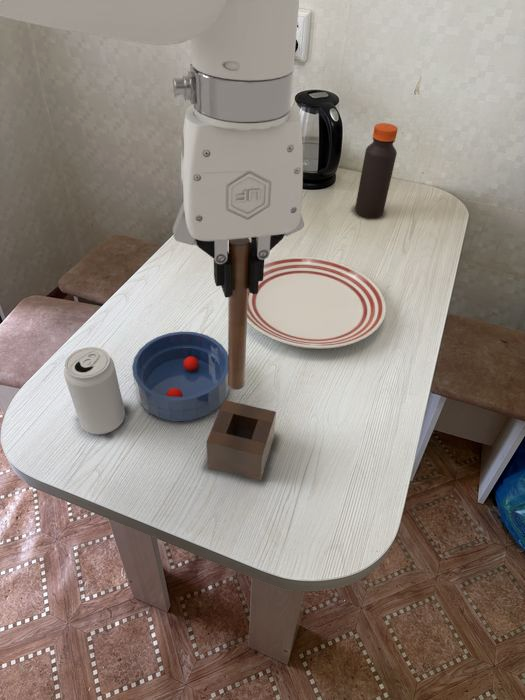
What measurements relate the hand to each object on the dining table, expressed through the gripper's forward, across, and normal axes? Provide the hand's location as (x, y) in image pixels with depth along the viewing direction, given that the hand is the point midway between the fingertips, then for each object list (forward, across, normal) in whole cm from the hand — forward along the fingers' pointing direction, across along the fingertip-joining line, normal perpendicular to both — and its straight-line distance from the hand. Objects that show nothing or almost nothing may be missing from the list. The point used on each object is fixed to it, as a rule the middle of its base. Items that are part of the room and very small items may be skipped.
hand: (238, 286), depth 51 cm
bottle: (+28, +46, +60) cm, 81 cm away
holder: (+28, +1, -1) cm, 28 cm away
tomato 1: (+28, -7, +10) cm, 30 cm away
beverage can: (+29, -17, +10) cm, 35 cm away
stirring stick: (+15, 0, 0) cm, 15 cm away
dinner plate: (+28, +20, +27) cm, 44 cm away
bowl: (+28, -5, +13) cm, 32 cm away
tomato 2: (+27, -4, +16) cm, 32 cm away
